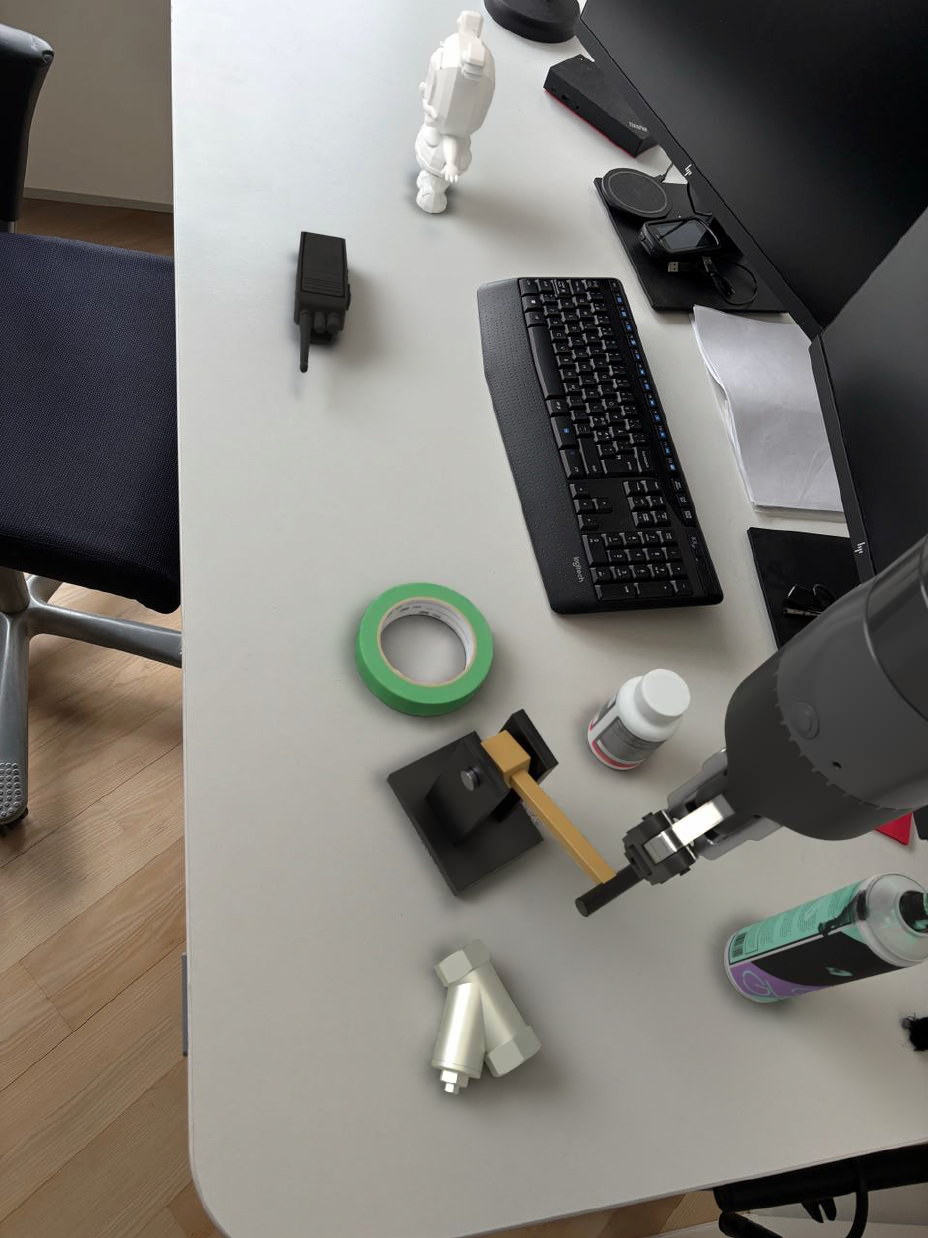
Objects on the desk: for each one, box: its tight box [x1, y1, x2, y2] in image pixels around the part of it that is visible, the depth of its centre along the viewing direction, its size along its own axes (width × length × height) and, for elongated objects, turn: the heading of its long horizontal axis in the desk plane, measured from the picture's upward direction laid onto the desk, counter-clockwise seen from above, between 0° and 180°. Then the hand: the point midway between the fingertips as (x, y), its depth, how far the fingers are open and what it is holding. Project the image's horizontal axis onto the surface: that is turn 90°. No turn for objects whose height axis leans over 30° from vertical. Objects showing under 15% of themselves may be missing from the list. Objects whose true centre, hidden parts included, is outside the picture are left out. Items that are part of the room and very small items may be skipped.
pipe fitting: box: [431, 938, 542, 1095], centre depth 61 cm, size 8×4×7 cm
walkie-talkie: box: [293, 230, 352, 374], centre depth 89 cm, size 6×6×20 cm
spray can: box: [723, 871, 928, 1004], centre depth 62 cm, size 6×6×20 cm
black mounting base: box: [386, 708, 559, 896], centre depth 65 cm, size 10×8×13 cm
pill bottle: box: [587, 668, 692, 771], centre depth 73 cm, size 5×5×10 cm
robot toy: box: [414, 9, 496, 214], centre depth 98 cm, size 8×20×19 cm, turn 2°
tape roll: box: [354, 582, 494, 717], centre depth 75 cm, size 11×11×3 cm
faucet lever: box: [481, 730, 645, 918], centre depth 58 cm, size 13×5×2 cm, turn 33°
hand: (671, 839), depth 48 cm, fingers open, 4 cm apart
